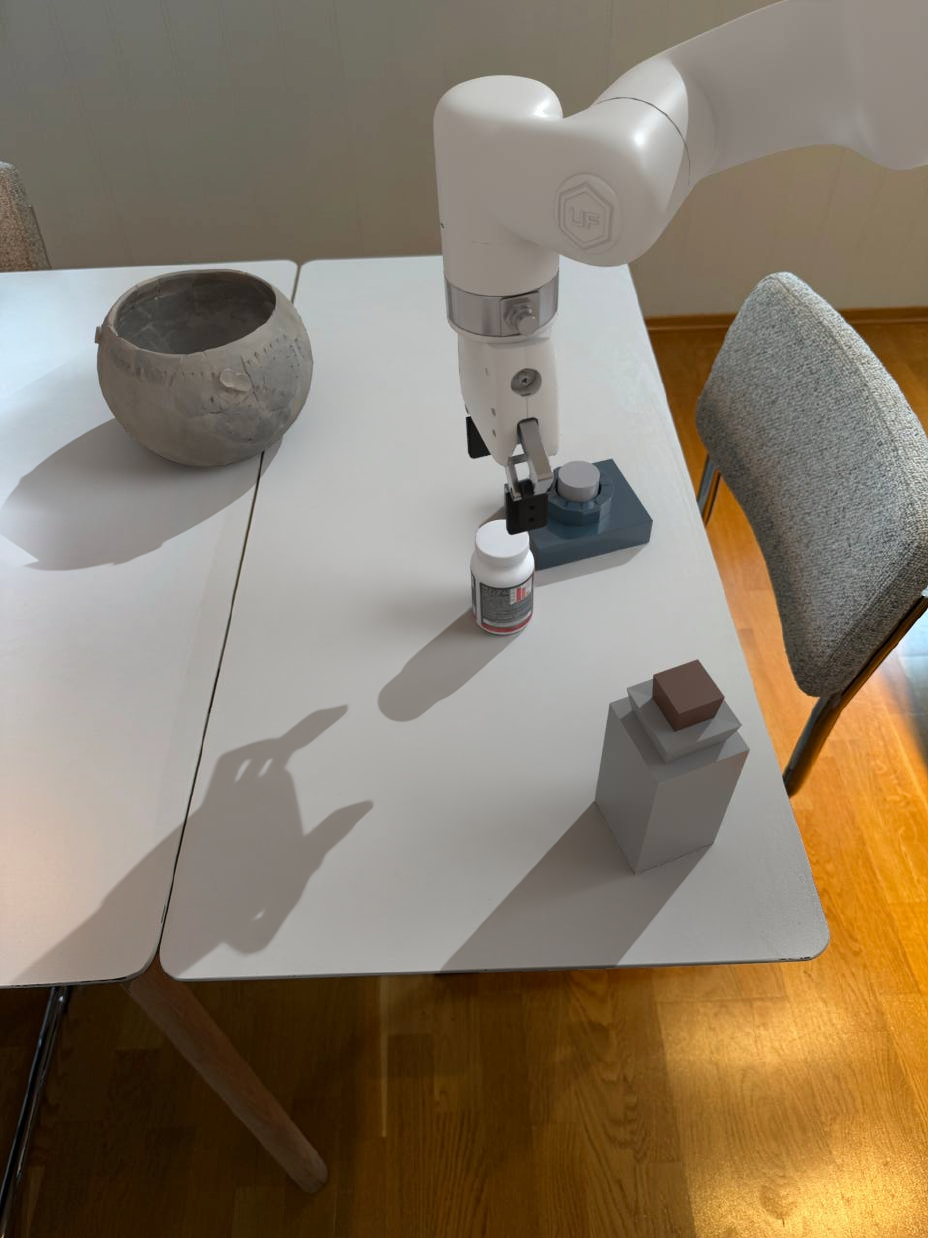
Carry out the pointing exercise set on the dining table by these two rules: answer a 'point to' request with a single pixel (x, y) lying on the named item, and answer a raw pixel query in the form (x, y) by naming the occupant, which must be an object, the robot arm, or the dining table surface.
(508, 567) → the pill bottle
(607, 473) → the button housing
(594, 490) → the grey button cap
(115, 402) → the bowl
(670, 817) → the perfume bottle
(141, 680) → the dining table surface
